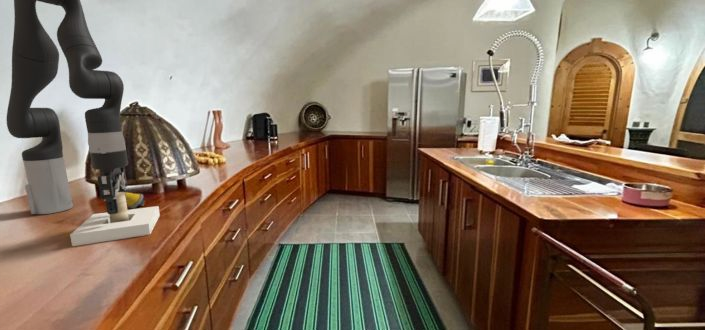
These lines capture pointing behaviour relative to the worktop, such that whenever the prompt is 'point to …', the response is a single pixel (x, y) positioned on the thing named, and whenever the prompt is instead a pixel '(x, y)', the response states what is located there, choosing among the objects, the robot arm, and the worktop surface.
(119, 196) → the wooden peg
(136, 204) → the drill bit
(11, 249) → the worktop surface
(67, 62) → the robot arm
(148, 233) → the socket board
